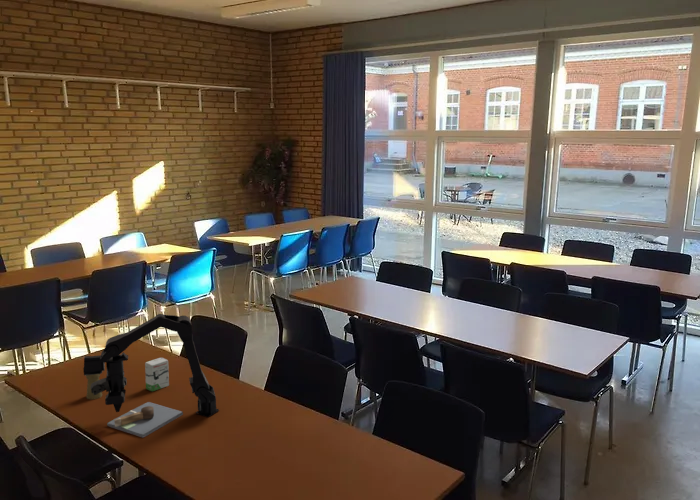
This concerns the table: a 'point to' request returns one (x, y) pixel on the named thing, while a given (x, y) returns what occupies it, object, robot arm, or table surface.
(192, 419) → the table surface
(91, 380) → the cork
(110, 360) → the robot arm
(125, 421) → the peg lever
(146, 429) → the board
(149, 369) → the ink box
